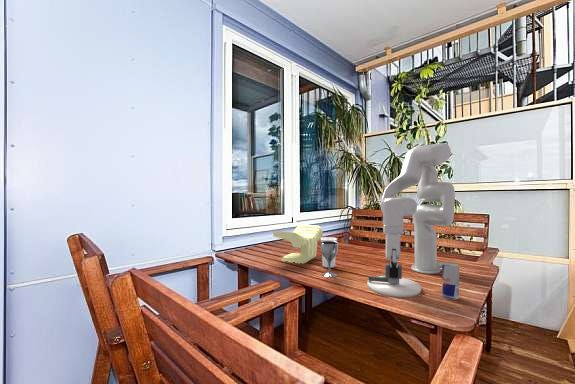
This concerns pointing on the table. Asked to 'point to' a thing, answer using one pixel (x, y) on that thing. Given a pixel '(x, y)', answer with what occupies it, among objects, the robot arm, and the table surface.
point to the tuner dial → (395, 288)
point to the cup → (323, 256)
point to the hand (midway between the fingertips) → (393, 274)
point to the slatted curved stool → (302, 242)
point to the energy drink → (450, 281)
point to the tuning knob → (387, 277)
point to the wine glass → (329, 254)
